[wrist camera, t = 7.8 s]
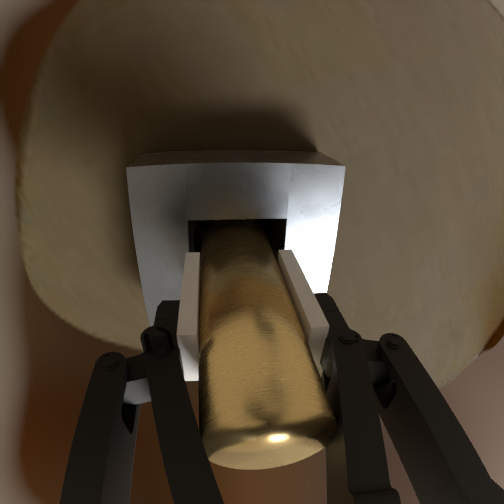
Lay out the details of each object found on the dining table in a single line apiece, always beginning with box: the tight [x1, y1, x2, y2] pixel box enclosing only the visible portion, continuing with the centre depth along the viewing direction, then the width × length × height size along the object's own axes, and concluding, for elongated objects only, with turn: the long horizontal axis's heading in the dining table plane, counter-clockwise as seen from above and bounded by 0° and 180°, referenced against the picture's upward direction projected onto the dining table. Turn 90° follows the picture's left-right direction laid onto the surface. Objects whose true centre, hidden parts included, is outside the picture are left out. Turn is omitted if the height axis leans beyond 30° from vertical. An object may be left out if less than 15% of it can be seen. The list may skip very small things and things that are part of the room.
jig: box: [126, 150, 345, 327], centre depth 21 cm, size 12×12×4 cm
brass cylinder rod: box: [198, 219, 338, 470], centre depth 14 cm, size 4×4×14 cm
